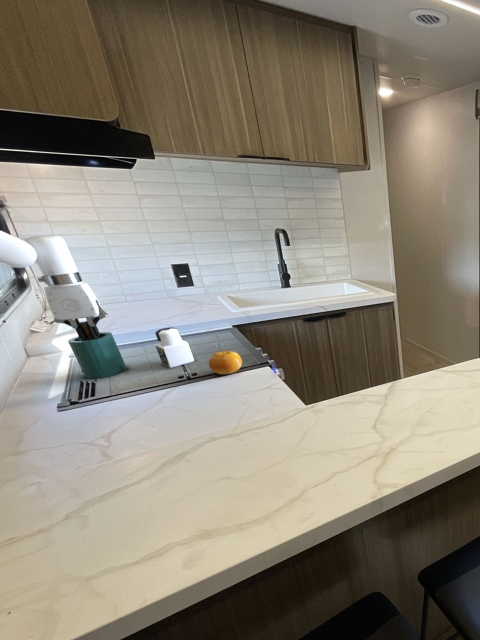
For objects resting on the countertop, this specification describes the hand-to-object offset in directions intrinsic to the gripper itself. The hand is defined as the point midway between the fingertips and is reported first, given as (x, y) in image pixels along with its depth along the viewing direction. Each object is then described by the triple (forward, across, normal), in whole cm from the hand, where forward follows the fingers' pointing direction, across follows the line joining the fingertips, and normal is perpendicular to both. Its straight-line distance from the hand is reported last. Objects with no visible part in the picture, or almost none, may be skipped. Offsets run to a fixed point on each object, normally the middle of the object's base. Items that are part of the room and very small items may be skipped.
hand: (91, 338), depth 126 cm
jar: (+12, 0, 0) cm, 12 cm away
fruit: (+12, +35, -20) cm, 43 cm away
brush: (+9, 0, 0) cm, 9 cm away
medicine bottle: (+12, +20, -2) cm, 23 cm away
